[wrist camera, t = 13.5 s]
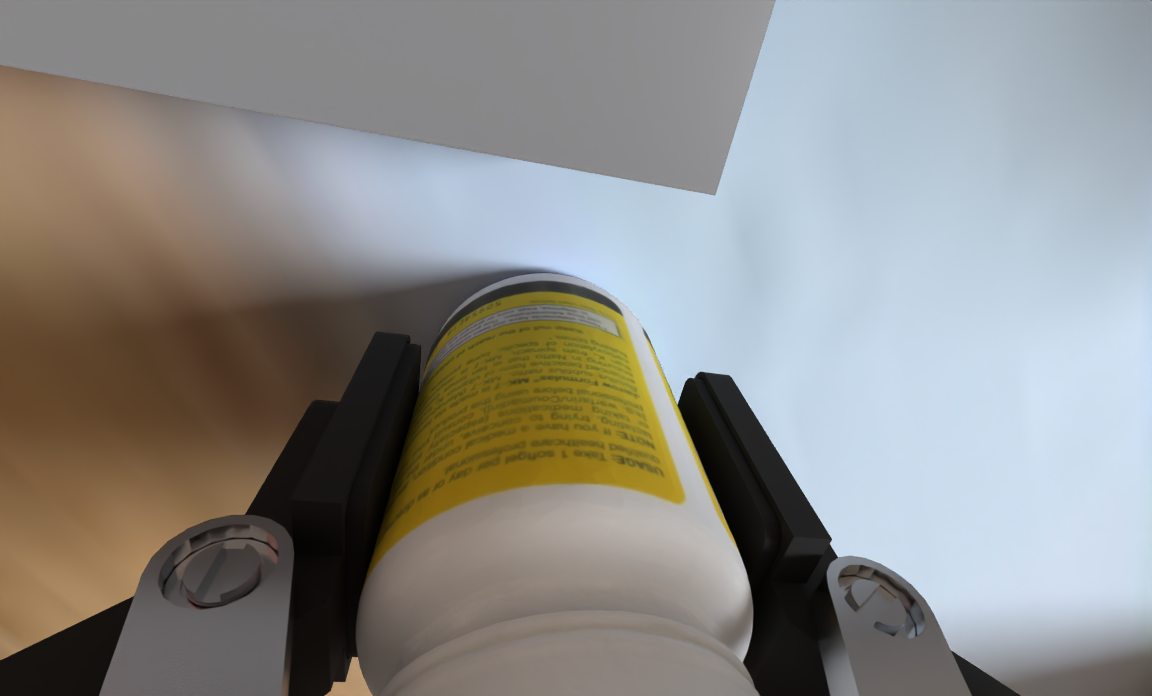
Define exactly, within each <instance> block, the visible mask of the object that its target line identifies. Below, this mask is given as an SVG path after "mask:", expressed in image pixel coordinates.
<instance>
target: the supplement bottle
mask: <svg viewBox="0 0 1152 696" xmlns="http://www.w3.org/2000/svg"><path fill="white" fill-rule="evenodd" d="M752 627H753V602H752V594H751V588H750V584H749V580H748V576H747V573H746V569H745V567H744V564H743V561H742V558H741V556H740V553H739V550H738V548H737V545H736V542H735V540H734V538H733V536H732V534H731V531H730V529H729V527H728V525H727V522H726V520H725V518H724V515H723V513H722V511H721V508H720V506H719V503H718V501H717V499H716V496H715V494H714V492H713V489H712V487H711V485H710V482H709V480H708V478H707V475H706V473H705V470H704V468H703V466H702V463H701V461H700V458H699V456H698V453H697V451H696V448H695V446H694V444H693V441H692V439H691V437H690V434H689V432H688V429H687V427H686V425H685V422H684V420H683V418H682V415H681V412H680V410H679V408H678V406H677V403H676V401H675V399H674V396H673V394H672V391H671V388H670V386H669V384H668V382H667V380H666V377H665V375H664V372H663V370H662V367H661V365H660V363H659V360H658V358H657V356H656V353H655V351H654V349H653V347H652V344H651V341H650V339H649V337H648V335H647V333H646V331H645V330H644V328H643V326H642V325H641V323H640V321H639V320H638V318H637V317H636V316H635V315H634V314H633V313H632V311H631V310H630V309H629V308H628V307H627V306H626V305H625V304H623V303H622V302H621V301H620V300H619V299H617V298H616V297H614V296H613V295H611V294H610V293H609V292H607V291H605V290H604V289H602V288H600V287H598V286H596V285H594V284H592V283H589V282H587V281H584V280H581V279H578V278H575V277H571V276H566V275H560V274H549V273H537V274H527V275H521V276H515V277H511V278H508V279H504V280H501V281H499V282H496V283H494V284H491V285H489V286H487V287H486V288H484V289H482V290H480V291H479V292H477V293H475V294H474V295H472V296H471V297H469V298H468V299H467V300H466V301H465V302H463V303H462V304H461V305H460V306H459V307H458V308H457V309H456V310H455V311H454V312H453V313H452V314H451V316H450V317H449V318H448V320H447V321H446V322H445V324H444V325H443V326H442V328H441V330H440V332H439V334H438V336H437V338H436V340H435V342H434V344H433V346H432V348H431V350H430V353H429V357H428V360H427V363H426V367H425V372H424V376H423V379H422V383H421V387H420V391H419V394H418V398H417V401H416V404H415V407H414V411H413V414H412V418H411V421H410V425H409V428H408V432H407V435H406V439H405V442H404V446H403V449H402V453H401V456H400V460H399V463H398V467H397V470H396V473H395V477H394V480H393V483H392V487H391V491H390V495H389V499H388V502H387V506H386V509H385V512H384V516H383V519H382V523H381V526H380V530H379V533H378V537H377V540H376V544H375V547H374V551H373V554H372V558H371V561H370V565H369V568H368V572H367V575H366V579H365V582H364V586H363V589H362V593H361V596H360V600H359V606H358V614H357V621H356V645H357V654H358V659H359V664H360V668H361V671H362V674H363V677H364V679H365V681H366V683H367V685H368V688H369V690H370V692H371V693H372V695H373V696H760V695H759V693H758V692H757V690H756V689H755V687H754V683H753V680H752V678H751V676H750V674H749V672H748V671H747V669H746V667H745V666H744V664H743V660H744V658H745V656H746V653H747V651H748V647H749V643H750V639H751V634H752Z"/></svg>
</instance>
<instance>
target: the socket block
mask: <svg viewBox="0 0 1152 696" xmlns="http://www.w3.org/2000/svg"><path fill="white" fill-rule="evenodd" d="M775 1H776V0H0V65H3V66H9V67H14V68H20V69H25V70H31V71H36V72H41V73H47V74H52V75H58V76H63V77H69V78H74V79H80V80H85V81H91V82H96V83H102V84H107V85H113V86H118V87H124V88H129V89H135V90H140V91H146V92H151V93H157V94H162V95H168V96H173V97H179V98H184V99H189V100H195V101H200V102H206V103H211V104H217V105H222V106H228V107H233V108H239V109H244V110H250V111H255V112H261V113H266V114H272V115H277V116H283V117H288V118H294V119H299V120H305V121H310V122H316V123H321V124H327V125H332V126H338V127H343V128H348V129H354V130H359V131H365V132H370V133H376V134H381V135H387V136H392V137H398V138H403V139H409V140H414V141H420V142H425V143H431V144H436V145H442V146H447V147H453V148H458V149H464V150H469V151H475V152H480V153H486V154H491V155H496V156H502V157H507V158H513V159H518V160H524V161H529V162H535V163H540V164H546V165H551V166H557V167H562V168H568V169H573V170H579V171H584V172H590V173H595V174H601V175H606V176H612V177H617V178H623V179H628V180H634V181H639V182H644V183H650V184H655V185H661V186H666V187H672V188H677V189H683V190H688V191H694V192H699V193H705V194H710V195H715V194H716V191H717V188H718V185H719V181H720V178H721V175H722V172H723V169H724V165H725V162H726V159H727V156H728V152H729V149H730V146H731V143H732V140H733V136H734V133H735V130H736V127H737V123H738V120H739V117H740V114H741V110H742V107H743V104H744V101H745V98H746V94H747V91H748V88H749V85H750V81H751V78H752V75H753V72H754V69H755V65H756V62H757V59H758V56H759V52H760V49H761V46H762V43H763V40H764V36H765V33H766V30H767V27H768V23H769V20H770V17H771V14H772V10H773V7H774V4H775Z"/></svg>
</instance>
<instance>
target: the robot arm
mask: <svg viewBox="0 0 1152 696" xmlns="http://www.w3.org/2000/svg"><path fill="white" fill-rule="evenodd" d="M420 362H421V345H416V344H410V336H409V335H401V334H393V333H385V332H376V333H375V334H374V336H373V338H372V340H371V342H370V344H369V346H368V348H367V350H366V352H365V354H364V356H363V358H362V360H361V362H360V364H359V366H358V368H357V370H356V372H355V374H354V375H353V377H352V379H351V381H350V383H349V385H348V387H347V389H346V391H345V393H344V395H343V397H342V399H341V401H340V402H334V401H324V400H315V401H313V402H312V403H311V404H310V406H309V407H308V409H307V410H306V412H305V414H304V416H303V417H302V419H301V421H300V422H299V424H298V426H297V427H296V429H295V431H294V432H293V434H292V436H291V438H290V439H289V441H288V443H287V444H286V446H285V448H284V449H283V451H282V453H281V454H280V456H279V458H278V460H277V461H276V463H275V465H274V466H273V468H272V470H271V471H270V473H269V475H268V476H267V478H266V480H265V482H264V483H263V485H262V487H261V488H260V490H259V492H258V493H257V495H256V497H255V499H254V500H253V502H252V504H251V505H250V507H249V509H248V510H247V512H246V514H245V515H230V516H225V517H220V518H216V519H211V520H208V521H205V522H203V523H200V524H198V525H196V526H193V527H191V528H188V529H186V530H185V531H183V532H182V533H180V534H179V535H177V536H175V537H174V538H172V539H171V540H169V541H168V542H167V543H166V544H165V545H164V546H163V547H162V548H161V549H160V550H159V551H158V552H157V553H155V554H154V555H153V556H152V558H151V559H150V561H149V563H148V565H147V566H146V568H145V570H144V572H143V573H142V576H141V578H140V581H139V584H138V587H137V590H136V593H135V595H134V596H133V597H131V598H129V599H127V600H125V601H123V602H121V603H119V604H117V605H114V606H112V607H110V608H108V609H106V610H104V611H102V612H100V613H98V614H96V615H94V616H92V617H90V618H88V619H85V620H83V621H81V622H79V623H77V624H75V625H73V626H71V627H69V628H67V629H65V630H63V631H61V632H58V633H56V634H54V635H52V636H50V637H48V638H46V639H44V640H42V641H40V642H38V643H36V644H34V645H32V646H29V647H27V648H25V649H23V650H21V651H19V652H17V653H15V654H13V655H11V656H9V657H7V658H5V659H3V660H0V696H324V695H326V694H327V693H328V692H330V691H331V688H332V685H333V682H345V681H346V677H347V673H348V670H349V666H350V663H351V659H352V657H358V654H357V645H356V621H357V614H358V606H359V600H360V596H361V593H362V589H363V586H364V582H365V579H366V575H367V572H368V568H369V565H370V561H371V558H372V554H373V551H374V547H375V544H376V540H377V537H378V533H379V530H380V526H381V523H382V519H383V516H384V512H385V509H386V506H387V502H388V499H389V495H390V491H391V487H392V483H393V480H394V477H395V473H396V470H397V467H398V463H399V460H400V456H401V453H402V449H403V446H404V442H405V439H406V435H407V432H408V428H409V425H410V421H411V418H412V414H413V411H414V407H415V404H416V401H417V398H418V393H419V378H420ZM677 406H678V408H679V410H680V412H681V415H682V418H683V420H684V422H685V425H686V427H687V429H688V432H689V434H690V437H691V439H692V441H693V444H694V446H695V448H696V451H697V453H698V456H699V458H700V461H701V463H702V466H703V468H704V470H705V473H706V475H707V478H708V480H709V482H710V485H711V487H712V489H713V492H714V494H715V496H716V499H717V501H718V503H719V506H720V508H721V511H722V513H723V515H724V518H725V520H726V522H727V525H728V527H729V529H730V531H731V534H732V536H733V538H734V540H735V542H736V545H737V548H738V550H739V553H740V556H741V558H742V561H743V564H744V567H745V569H746V573H747V576H748V580H749V584H750V588H751V594H752V602H753V627H752V634H751V639H750V643H749V647H748V651H747V653H746V656H745V658H744V660H743V664H744V666H745V667H746V669H747V671H748V672H749V674H750V676H751V678H752V680H753V683H754V687H755V689H756V690H757V692H758V693H759V695H760V696H1020V695H1019V694H1017V693H1016V692H1014V691H1013V690H1011V689H1010V688H1008V687H1007V686H1005V685H1003V684H1002V683H1000V682H999V681H997V680H996V679H994V678H993V677H991V676H990V675H988V674H987V673H985V672H983V671H982V670H980V669H979V668H977V667H976V666H974V665H973V664H971V663H970V662H968V661H966V660H965V659H963V658H962V657H960V656H959V655H957V654H956V653H954V652H953V651H951V650H950V648H949V646H948V643H947V641H946V639H945V637H944V635H943V633H942V631H941V628H940V626H939V624H938V622H937V620H936V618H935V615H934V613H933V612H932V610H931V609H930V607H929V605H928V604H927V602H926V600H925V599H924V598H923V597H922V596H921V595H920V594H919V592H918V591H917V590H916V589H915V588H914V587H913V586H912V585H911V584H910V583H908V582H907V581H906V580H905V579H903V578H902V577H901V576H900V575H898V574H897V573H895V572H894V571H892V570H890V569H889V568H887V567H885V566H883V565H882V564H880V563H877V562H874V561H872V560H869V559H866V558H862V557H856V556H845V557H839V558H838V557H837V555H836V554H835V552H834V550H833V549H832V547H831V545H830V542H831V540H832V539H831V537H830V535H829V534H828V532H827V530H826V529H825V527H824V526H823V524H822V522H821V521H820V519H819V518H818V516H817V514H816V513H815V511H814V510H813V508H812V506H811V505H810V503H809V501H808V500H807V498H806V497H805V495H804V493H803V492H802V490H801V489H800V487H799V485H798V484H797V482H796V481H795V479H794V477H793V476H792V474H791V473H790V471H789V469H788V468H787V466H786V464H785V463H784V461H783V460H782V458H781V456H780V455H779V453H778V452H777V450H776V448H775V447H774V445H773V444H772V442H771V440H770V439H769V437H768V435H767V434H766V432H765V431H764V429H763V427H762V426H761V424H760V423H759V421H758V419H757V418H756V416H755V415H754V413H753V411H752V410H751V408H750V406H749V405H748V403H747V402H746V400H745V398H744V397H743V395H742V394H741V392H740V390H739V389H738V387H737V386H736V384H735V382H734V381H733V379H732V378H731V377H730V376H729V375H722V374H714V373H706V372H699V373H698V374H697V375H696V376H695V378H689V379H687V381H686V382H685V385H684V387H683V390H682V393H681V396H680V399H679V402H678V405H677Z"/></svg>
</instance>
